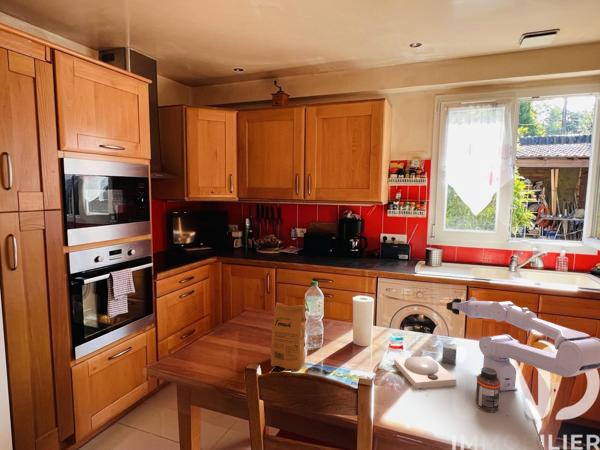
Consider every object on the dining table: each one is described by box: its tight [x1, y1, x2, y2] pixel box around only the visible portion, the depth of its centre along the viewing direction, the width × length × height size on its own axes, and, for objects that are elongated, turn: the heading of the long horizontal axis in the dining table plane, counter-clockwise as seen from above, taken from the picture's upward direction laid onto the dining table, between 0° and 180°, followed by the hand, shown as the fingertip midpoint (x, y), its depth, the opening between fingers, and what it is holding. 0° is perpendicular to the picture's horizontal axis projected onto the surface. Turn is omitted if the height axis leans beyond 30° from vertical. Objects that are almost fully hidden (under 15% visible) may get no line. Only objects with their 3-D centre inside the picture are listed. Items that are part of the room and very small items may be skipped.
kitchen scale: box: [393, 355, 457, 390], centre depth 122 cm, size 16×14×3 cm
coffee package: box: [270, 301, 306, 371], centre depth 127 cm, size 10×12×22 cm
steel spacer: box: [441, 342, 458, 366], centre depth 131 cm, size 4×4×6 cm
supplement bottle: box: [475, 367, 501, 413], centre depth 104 cm, size 6×6×11 cm
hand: (456, 307), depth 136 cm, fingers open, 7 cm apart
